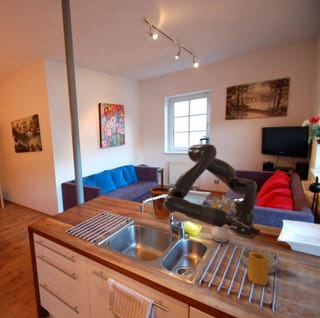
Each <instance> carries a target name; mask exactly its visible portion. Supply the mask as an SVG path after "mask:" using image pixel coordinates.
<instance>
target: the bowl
mask: <svg viewBox="0 0 320 318" xmlns="http://www.w3.org/2000/svg"><path fill="white" fill-rule="evenodd" d="M250 252H259V253H262V254H264V255H266V256H267V257H268V258H269V264H268V274H273V273H275V272H276V271H277V268H278V261H277V259H276V258H275V257H274V256H273V255H271V254H269V253H266V252H264V251H262V250H257V249H251V248H249V249H243V250H242V251H241V262H242V263H243V264H244V266H246V267H247V268H248V265H249V253H250Z"/></svg>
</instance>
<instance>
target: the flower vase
mask: <svg viewBox="0 0 320 318" xmlns="http://www.w3.org/2000/svg"><path fill="white" fill-rule="evenodd" d="M221 196H222V198H221V200H220V199H219V198H218V196H213V197H212V199H211V200H210V201H209V202H208V206H209V207H213V208H217V209H220V210H224V211H225V212H226V213H227V214H231V215H232V212H233V214H234V213H235V212H236V209H235V208H234V207H235V206H236V204H235V203H234V201H235V199H232V198H231V197H227V198H226V196H225V195H224V194H222V195H221ZM210 235H211V237H213V239H214V241H216V242H219V243H226V242H227V241H228V240H230V239H231V233H230V232H229V230H228V229H227V228H226V226H225V225H224V226H223V227H217V226H214V227H213V228H211V230H210Z"/></svg>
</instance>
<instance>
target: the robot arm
mask: <svg viewBox="0 0 320 318" xmlns="http://www.w3.org/2000/svg"><path fill="white" fill-rule="evenodd" d="M217 153H218V152H217V148H216V146H215V145H214V144H211V143H200V144H199V143H198V144H193V145H190V146H189V148H188V150H187V156H188V158H189V159H190V160H191V161H192V162H193V163H195V164H194V165H193V166H191V167H190V168H189V169H187V170H186V171H185V172H183V173H181V174H180V175H179V176H178V178H177V180H176V181H175V182H174V184H173V185H172V188H171V189H170V190H171V192H170V193H169V194H168V196H167V197H166V198H165V200H164V201H163V209H164V210H165V211H166V212H168V213H169V214H174V213H176V212H177V213H179V214H181V215H184V216H185V217H187V218H189V219H193V220H195V221H199V222H201V223H204V224H207V225H211V226H213V227H216V226H217V227H223V226H224V225H226V226H227V227H228V228H229V229H230V230H232V233H233V234H235V235H237V236H240V237H245V238H251V237H253V236H254V235H256V236H259V235H260V234H261V230H260V229H259V228H255V226H254V217H255V204H256V200H257V191H258V184H257V182H256V181H255V180H253V179H252V180H251V179H246V178H242V177H238V176H236V175H237V172H236V169H235V168H234V167H233V166H232V165H231V164H229V163H228V162H226V161H224V160H223V159H220V158H217ZM205 171H208V173H210V174H212V175H213V176H214V177H215V178H216V179H218V180H220V181H221V182H222V183H223V184H225V185H226V186H227V187H228V188H229V189H230V190H231V191H232V192H233V193H235V194H238V195H242V196H244V197H243V198H236V199H234V203H235V204H236V206H235V207H234V208H235V209H236V212H235V213H234V212H233V214H232V213H231V214H228V213H226V212H225V211H224V210H220V209H217V208H213V207H211V206H209V205H204V204H200V203H196V202H192V201H189V200H188V199H185V198H186V196H188V194H189V193H190V191H191V190H192V188H193V186H194V185H195V183H196V181H198V179H199V178H200V177H201V176H202V175H203V174H204V172H205ZM234 203H233V204H234Z"/></svg>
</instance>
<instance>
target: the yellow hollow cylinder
mask: <svg viewBox="0 0 320 318" xmlns="http://www.w3.org/2000/svg"><path fill="white" fill-rule="evenodd" d="M268 264H269V258H268V257H267V256H266V255H264V254H262V253H259V252H250V253H249V265H248V267H247V279H248V280H249V281H250V282H251V283H253V284H255V285H259V286H267V284H268V280H269V279H268V277H269V273H268Z"/></svg>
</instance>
